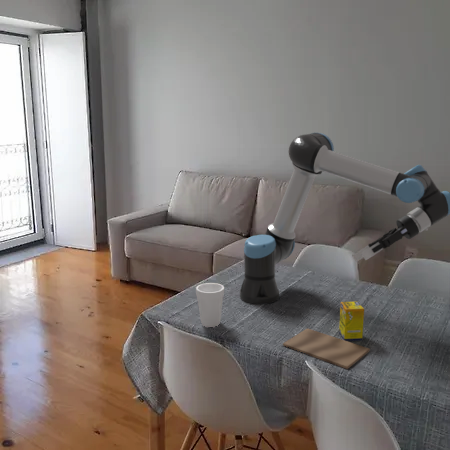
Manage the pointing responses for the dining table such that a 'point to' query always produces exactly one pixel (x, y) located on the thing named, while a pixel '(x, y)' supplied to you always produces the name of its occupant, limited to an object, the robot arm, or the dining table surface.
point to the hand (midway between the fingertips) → (358, 257)
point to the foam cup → (210, 303)
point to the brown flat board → (327, 348)
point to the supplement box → (351, 321)
